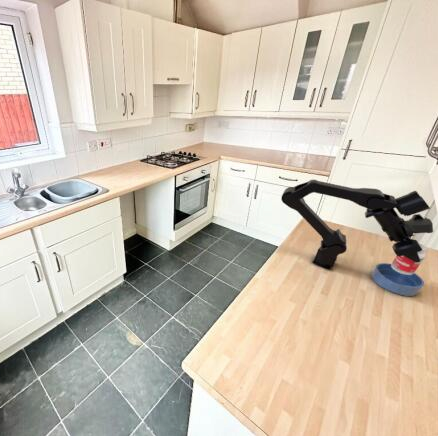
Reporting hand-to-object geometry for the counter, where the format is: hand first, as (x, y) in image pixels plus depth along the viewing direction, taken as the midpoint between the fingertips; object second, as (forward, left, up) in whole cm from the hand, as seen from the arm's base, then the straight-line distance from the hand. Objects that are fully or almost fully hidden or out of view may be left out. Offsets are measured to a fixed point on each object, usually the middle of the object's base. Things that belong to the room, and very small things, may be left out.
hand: (416, 257), depth 85 cm
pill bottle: (-1, 0, -7) cm, 7 cm away
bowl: (-1, 0, -13) cm, 13 cm away
